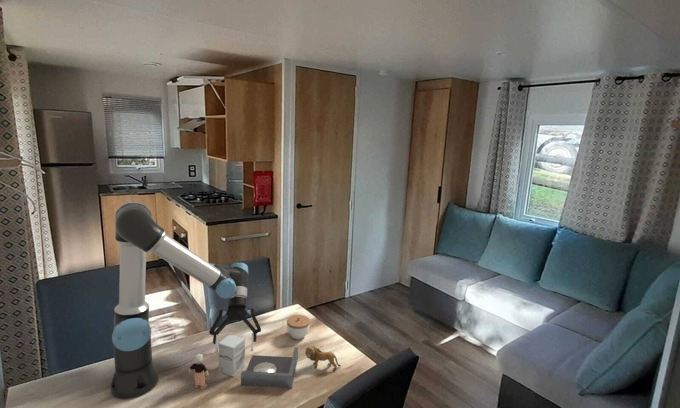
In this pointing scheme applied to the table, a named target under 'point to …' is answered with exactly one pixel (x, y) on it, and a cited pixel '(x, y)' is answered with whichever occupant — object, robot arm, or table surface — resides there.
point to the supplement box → (231, 355)
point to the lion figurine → (320, 356)
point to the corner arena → (270, 371)
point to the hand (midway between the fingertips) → (234, 351)
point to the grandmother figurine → (199, 371)
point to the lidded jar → (298, 326)
